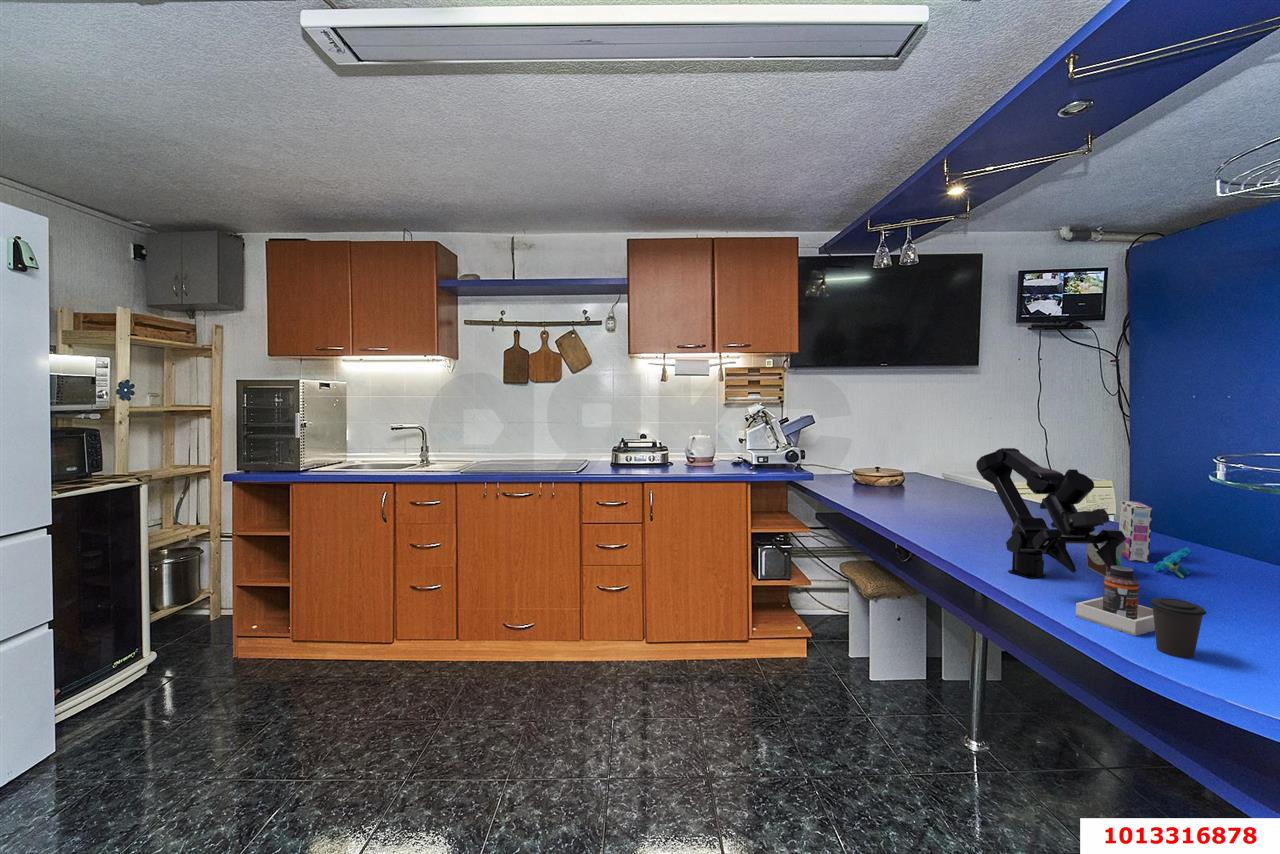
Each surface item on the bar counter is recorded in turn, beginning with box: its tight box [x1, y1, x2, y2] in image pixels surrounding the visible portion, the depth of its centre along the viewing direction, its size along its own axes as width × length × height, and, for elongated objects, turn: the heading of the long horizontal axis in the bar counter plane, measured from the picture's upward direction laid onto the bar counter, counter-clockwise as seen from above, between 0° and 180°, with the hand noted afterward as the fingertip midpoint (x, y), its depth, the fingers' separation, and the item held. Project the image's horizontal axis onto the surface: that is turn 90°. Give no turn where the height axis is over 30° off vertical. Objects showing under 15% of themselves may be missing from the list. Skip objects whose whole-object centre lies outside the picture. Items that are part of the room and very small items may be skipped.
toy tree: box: [1152, 546, 1192, 579], centre depth 160 cm, size 11×6×10 cm
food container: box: [1085, 531, 1126, 578], centre depth 161 cm, size 12×6×10 cm, turn 168°
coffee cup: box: [1149, 597, 1207, 659], centre depth 112 cm, size 8×8×10 cm
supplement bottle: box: [1102, 565, 1140, 620], centre depth 127 cm, size 6×6×11 cm
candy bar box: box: [1118, 500, 1153, 564], centre depth 175 cm, size 11×5×16 cm, turn 155°
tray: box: [1075, 596, 1155, 637], centre depth 127 cm, size 11×11×3 cm
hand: (1095, 572), depth 135 cm, fingers open, 9 cm apart
